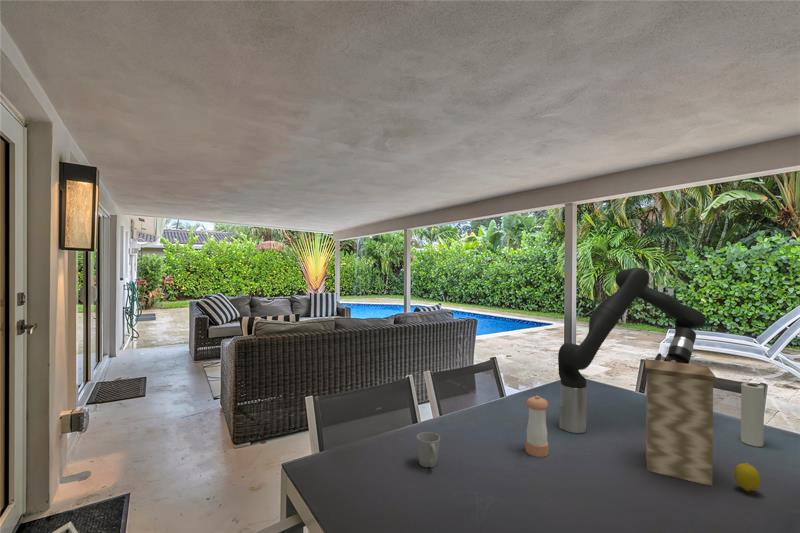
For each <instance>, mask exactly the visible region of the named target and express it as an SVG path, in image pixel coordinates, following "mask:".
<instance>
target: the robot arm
mask: <svg viewBox="0 0 800 533" xmlns="http://www.w3.org/2000/svg"><path fill="white" fill-rule="evenodd" d="M614 281H615V284H616V285H617V287H618V288H619V289H617V291H615V292H614V293H613V294H611V295H609V296H608V297H606V298H605V299H603V301H601V302H600V303H599V304H598V305H597V306H596V308H595V309H594V310H593V312H592V314H591V315H590V317H589V320H588V321H589V322H588V332H587V334H586V337H585V338H584V339H583V341H582V342H581V343H580V344H576V343H572V342H565V343H563V344H562V345H561V346H560V347H559V350H558V353H557V354H558V355H557V361H558V365H557V366H558V375H559V379H560V403H559V419H558V420H559V426H558V427H559V429H560V430H563V431H565V432H569V433H573V434H584V433H585V432H586V431H587V379H586V378H585V377H584V375H582V373H581V372H580V371H583V370H586V369H587V368H589V366H590V365H591V363H592V362H593V360H594V359H595V357H596V355H597V354H598V352H599V349H600V348H601V347H602V344H603V343H604V342H605V340H606V339H607V337H608V336H609V334H610V333H611V331H612V330H613V329H614V328H615V326H616V325H617V324H618V322H619V321H620V320H621V318H622V317H623V315H624V314H625V313H626V311H627V310H628V309H629V307H630V306H631V305H632V304H633V302H634V301H635V300H636V298H639V299H641V300H643V301H645V302H647V303H648V304H650V305H652V306H653V307H655V308H656V309H658V310H659V311H660V312H662V313H664V314H665V315H667V317H670V318H672V319H674V329H675V330H674V331H675V333H674V335H673V338H672V340H671V342H670V344H669V347H668V351H667V353H666V356H663V355H662V353H660V352H658V354H656V356H655V358H654V360H658V361H667V362H676V363H685V364H690V360H691V357H692V355H693V351H694V345H695V341H696V338H697V334H696V332H695V331H694V329H699V328H702V327H704V326H705V325H706V324H707V319H706V317H705V315H704V313H703V312H701V311H700V310H698V309H696V308H693V307H691V306H689V305H685V304H683V303H681V302H680V301H678V300H677V299H675V298H674V297H672V296H670V295H668V294H666V293H664V292H662V291H659V290H656V289H654V288H651V287H649V286H648V284H649V282H650V274H649V272H648V270H647V269H645V268H642V267H632V268H626V269H622V270H619V271H618V272H617V273H616V275H615V280H614Z"/></svg>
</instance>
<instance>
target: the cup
mask: <svg viewBox="0 0 800 533" xmlns="http://www.w3.org/2000/svg"><path fill="white" fill-rule="evenodd" d="M415 437H416V446H417V455H418V456H417V457H418V463H419V465H420V466H421V467H423V468H428V467H430V468H434V467H436V466H437V464H438V457H439V452H440V444H441V443H440V442H441V436H440V435H439V434H438V433H435V432H432V431H423V432H420V433H418V434H417V435H416V436H415Z"/></svg>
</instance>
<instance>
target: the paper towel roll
mask: <svg viewBox="0 0 800 533" xmlns="http://www.w3.org/2000/svg"><path fill="white" fill-rule="evenodd" d="M740 389H741V391H740V395H741V396H740V399H741V400H740V409H741V410H740V440H741V442H742V443H744V444H746V445H748V446H752V447H757V448H759V447H763V446H764V443H765V442H764V436H765V435H764V434H765V433H764V432H765V428H764V427H765V423H764V421H765V420H764V419H765V386H764V385H763V384H761V385H759V384H755V383H750V382H749V383H748V382H745V383H743V382H742V383H741V388H740Z"/></svg>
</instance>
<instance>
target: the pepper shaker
mask: <svg viewBox="0 0 800 533" xmlns="http://www.w3.org/2000/svg"><path fill="white" fill-rule="evenodd" d="M526 406H527V408H528V421H527V426H526V439H525V452H526V454H528V455H529V456H532V457H537V458H543V457H547V456H548V455H549V442H548V428H547V422H546V421H547V414H546V412H547V410H548V408H549V403H548V401H547V399H545V398H542V397H540V396H539V395H535V396H532V397H528V399H527V400H526Z"/></svg>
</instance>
